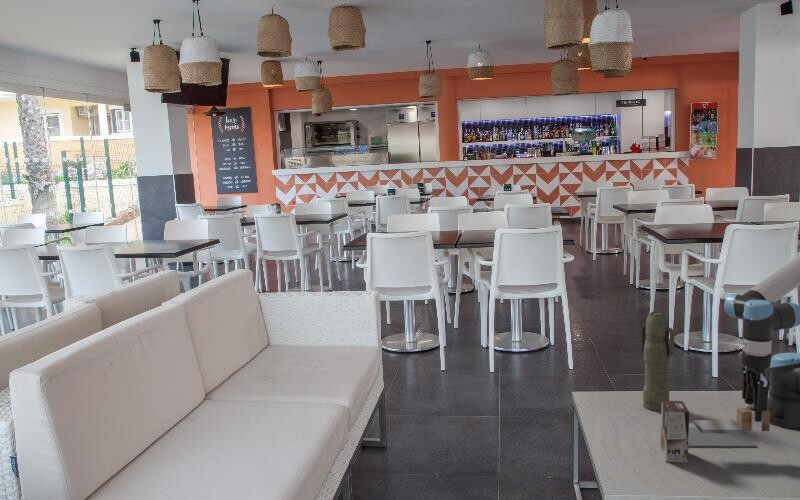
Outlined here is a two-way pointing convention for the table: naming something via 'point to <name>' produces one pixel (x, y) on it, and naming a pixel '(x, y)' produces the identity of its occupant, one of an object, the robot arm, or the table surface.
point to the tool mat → (717, 439)
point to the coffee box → (674, 431)
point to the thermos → (656, 359)
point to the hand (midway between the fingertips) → (753, 427)
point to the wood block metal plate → (733, 423)
